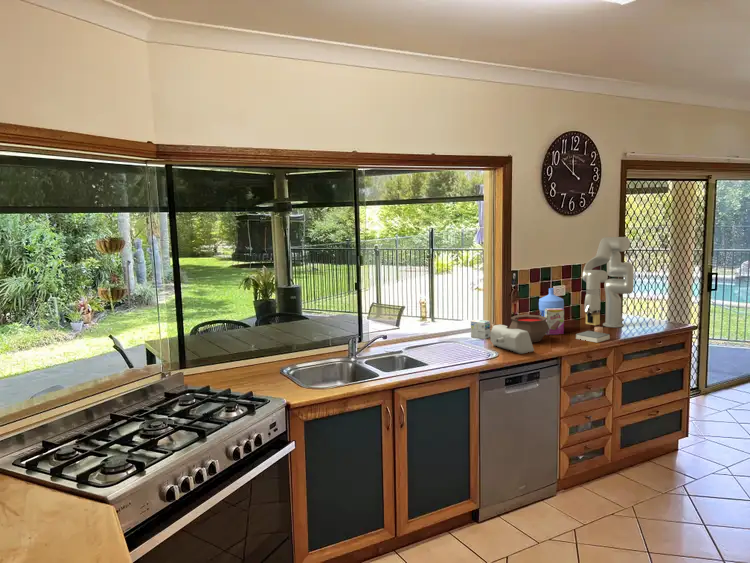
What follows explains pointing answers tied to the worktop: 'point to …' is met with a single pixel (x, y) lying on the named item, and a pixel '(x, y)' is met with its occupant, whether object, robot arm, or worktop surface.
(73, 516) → the worktop surface
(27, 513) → the worktop surface
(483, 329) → the light bulb box
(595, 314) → the carton
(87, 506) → the worktop surface
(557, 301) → the water jug
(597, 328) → the beige egg shape
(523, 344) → the tank
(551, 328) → the candy bar box
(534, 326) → the brown pot
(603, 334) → the podium
